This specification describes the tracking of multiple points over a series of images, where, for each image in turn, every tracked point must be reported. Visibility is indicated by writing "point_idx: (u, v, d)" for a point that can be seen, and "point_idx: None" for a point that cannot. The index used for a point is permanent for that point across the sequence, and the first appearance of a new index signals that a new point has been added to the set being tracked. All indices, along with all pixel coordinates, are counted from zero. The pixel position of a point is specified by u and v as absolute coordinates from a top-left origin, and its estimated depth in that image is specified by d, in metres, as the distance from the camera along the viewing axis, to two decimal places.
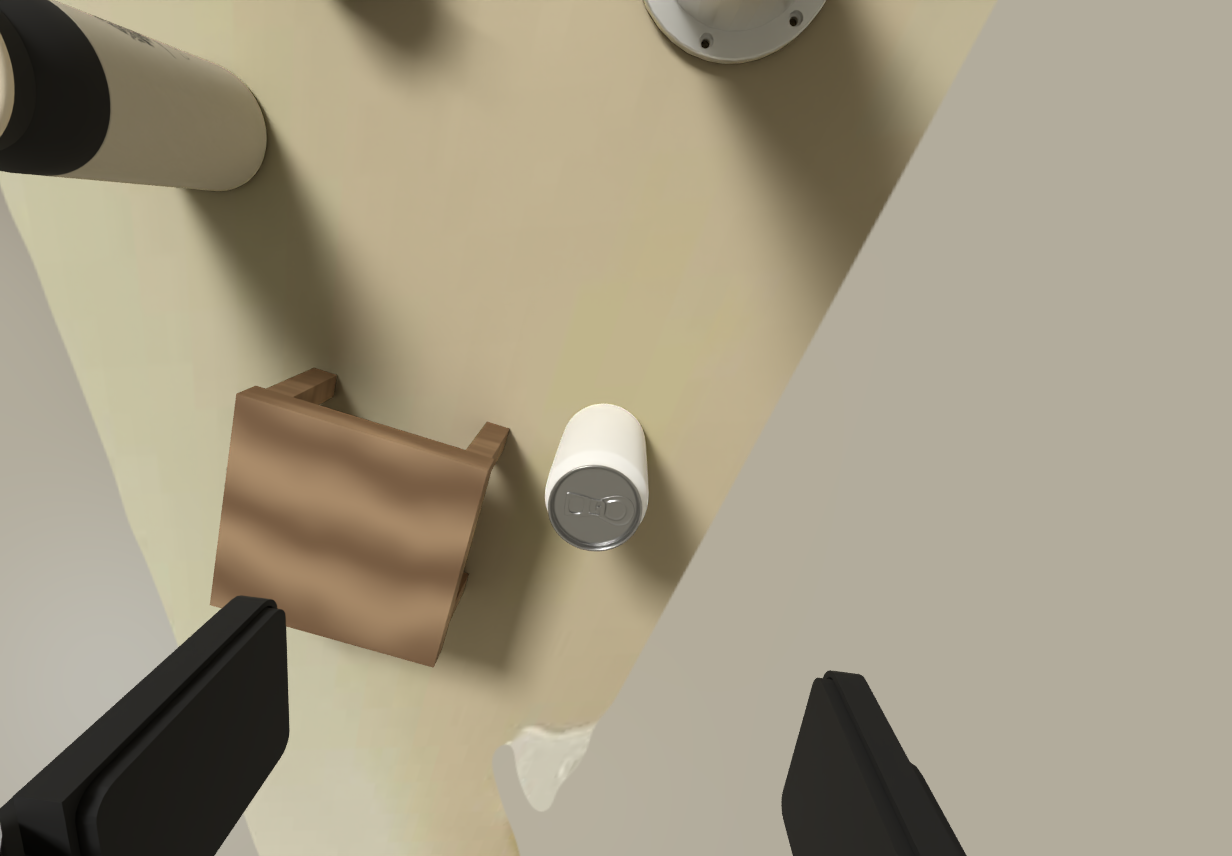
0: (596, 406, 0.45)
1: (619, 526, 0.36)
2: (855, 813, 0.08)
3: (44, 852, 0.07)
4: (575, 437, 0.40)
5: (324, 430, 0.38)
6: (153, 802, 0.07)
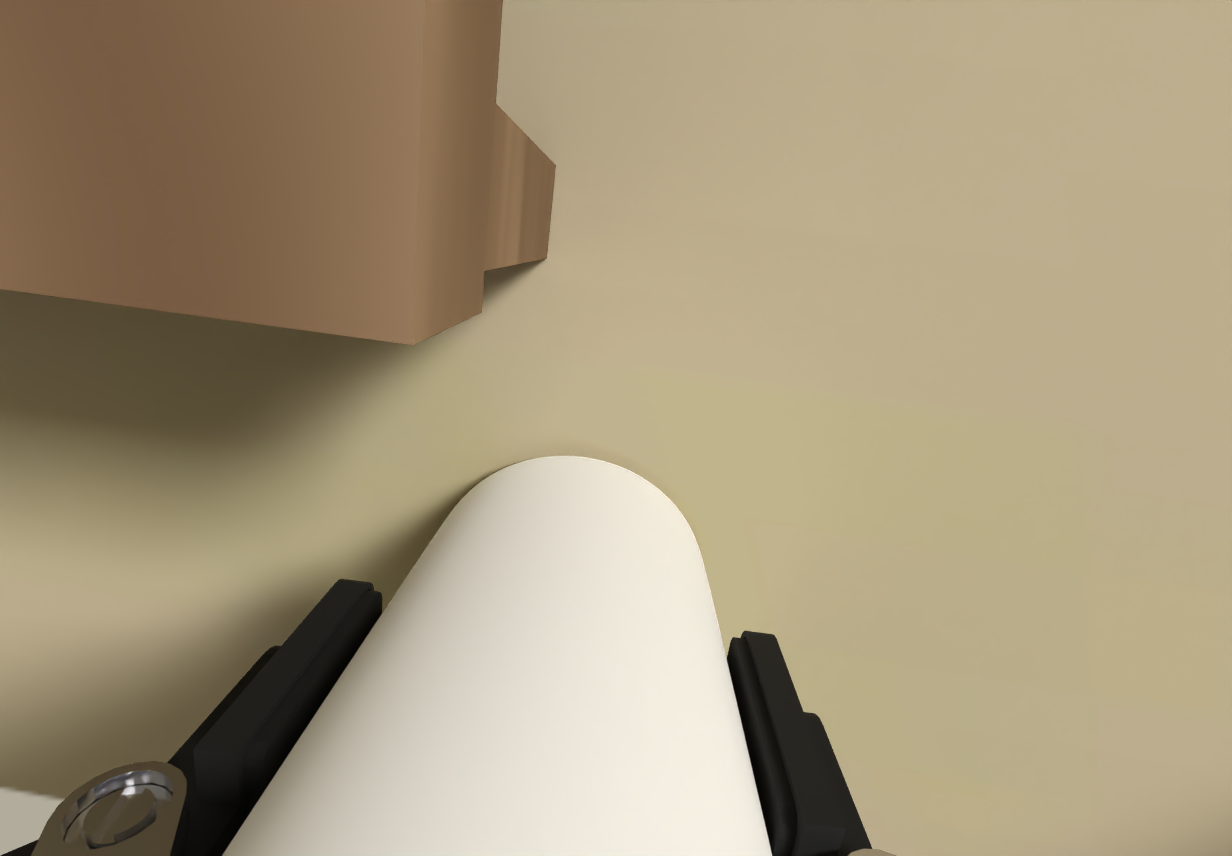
0: (701, 558, 0.13)
1: None
2: (750, 753, 0.09)
3: (215, 800, 0.07)
4: (721, 744, 0.07)
5: None
6: None
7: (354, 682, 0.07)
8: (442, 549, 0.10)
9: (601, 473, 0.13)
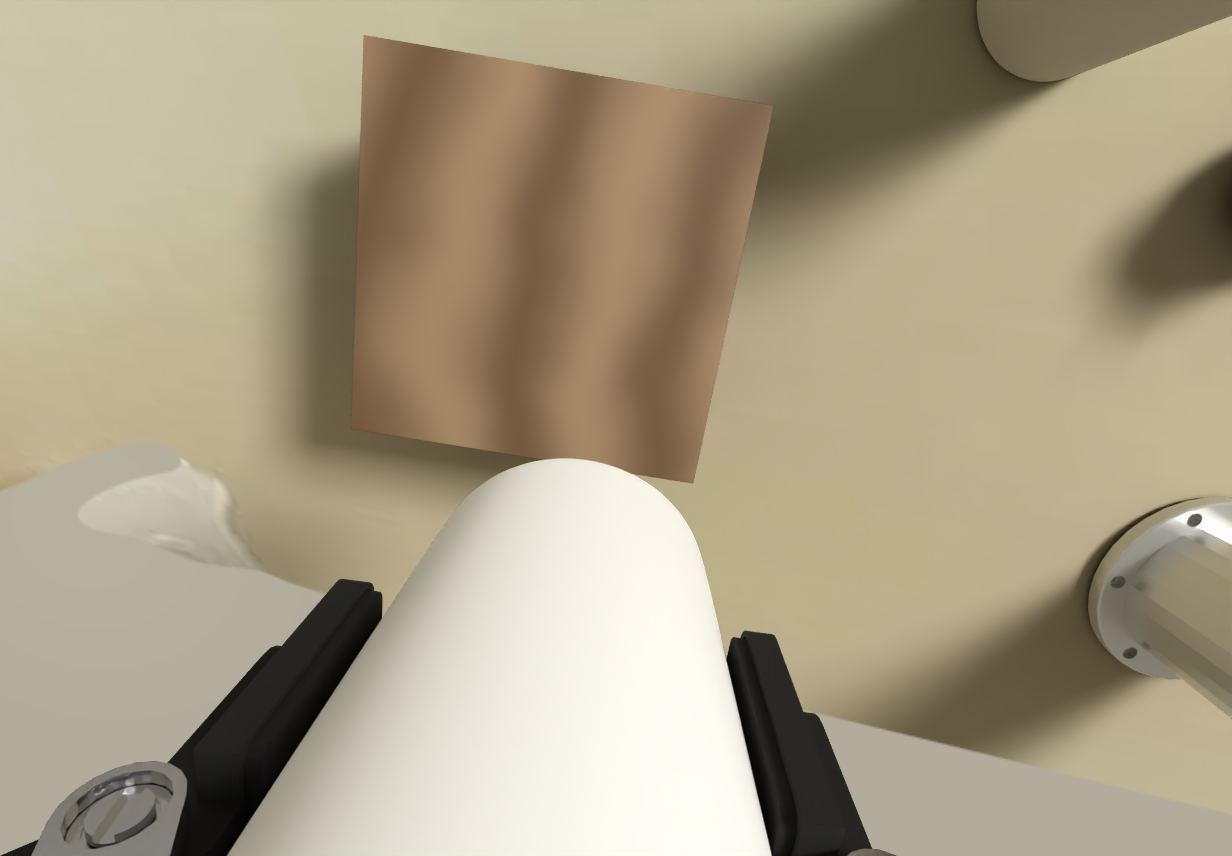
0: (702, 561, 0.13)
1: None
2: (750, 753, 0.09)
3: (215, 800, 0.07)
4: (721, 749, 0.07)
5: (726, 251, 0.25)
6: None
7: (356, 686, 0.07)
8: (443, 552, 0.10)
9: (601, 476, 0.13)
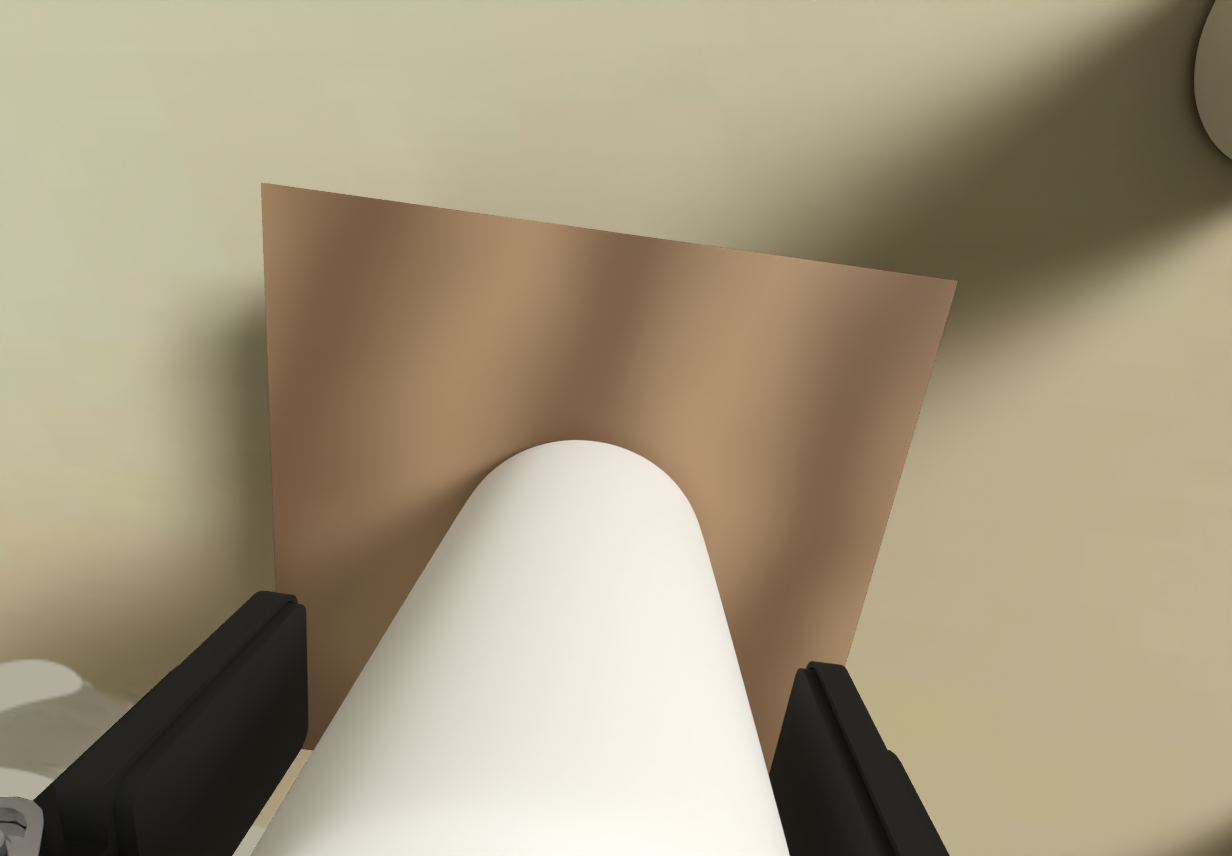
0: (701, 532, 0.15)
1: None
2: (833, 798, 0.08)
3: (82, 838, 0.07)
4: (721, 668, 0.09)
5: (868, 498, 0.16)
6: (184, 791, 0.08)
7: (411, 620, 0.09)
8: (473, 518, 0.12)
9: (610, 454, 0.14)
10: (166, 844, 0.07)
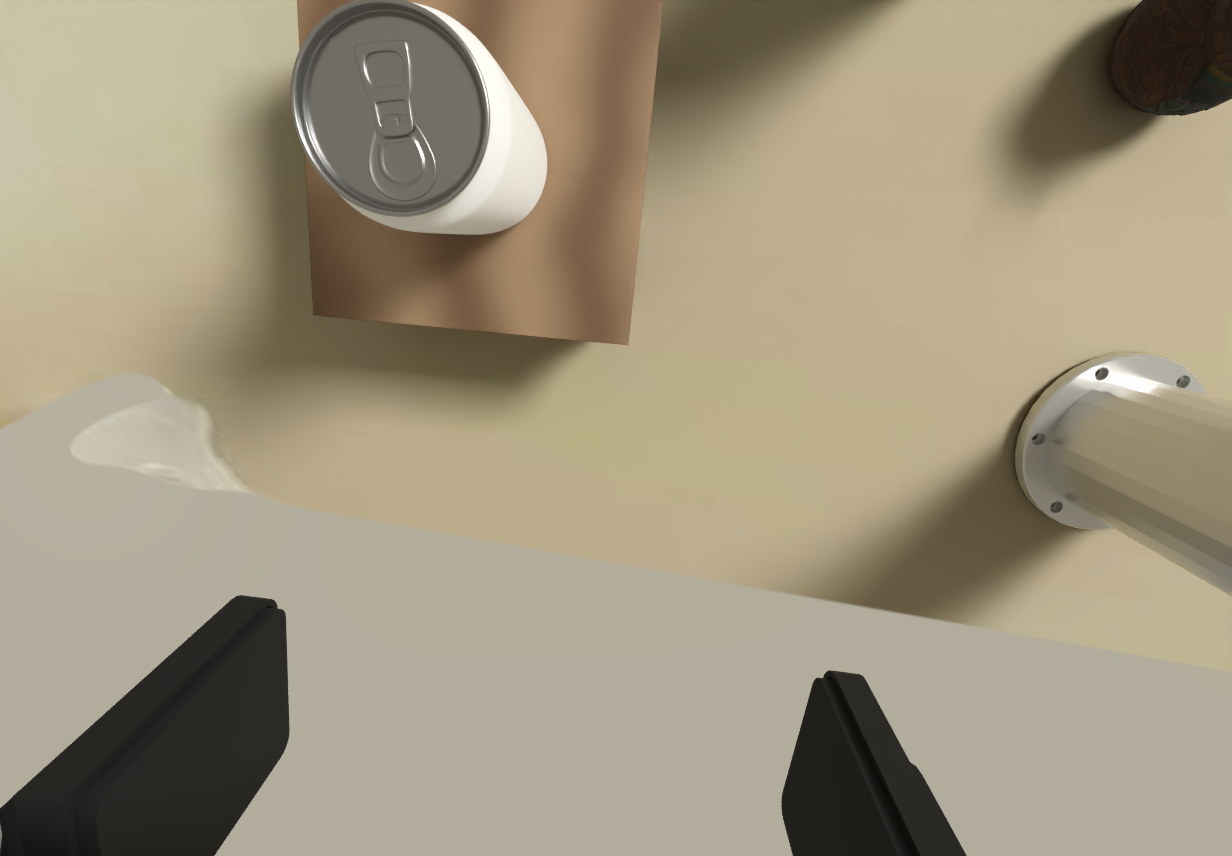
0: (539, 130, 0.27)
1: (370, 176, 0.18)
2: (855, 813, 0.08)
3: (44, 852, 0.07)
4: None
5: (636, 120, 0.28)
6: (153, 802, 0.07)
7: None
8: None
9: None
10: None
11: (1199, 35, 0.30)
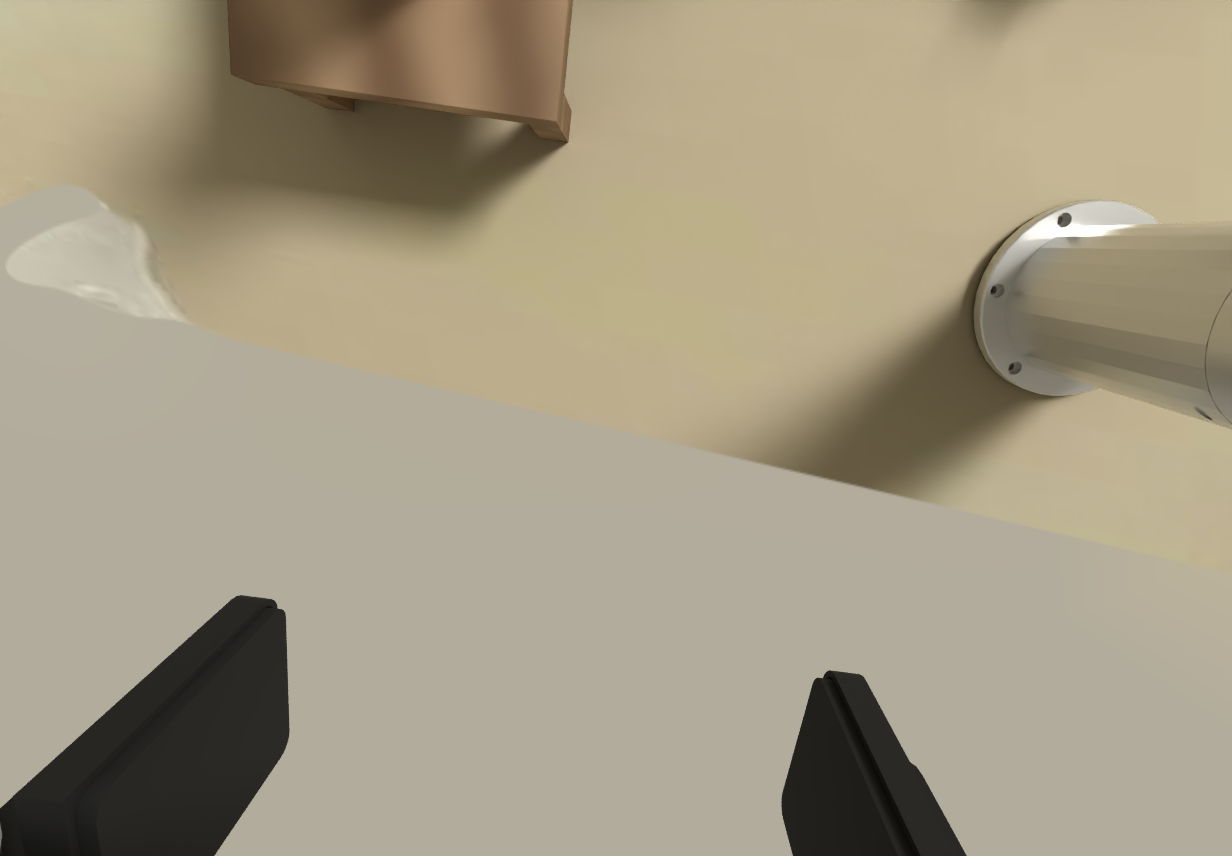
0: None
1: None
2: (855, 813, 0.08)
3: (44, 852, 0.07)
4: None
5: None
6: (153, 802, 0.07)
7: None
8: None
9: None
10: None
11: None
